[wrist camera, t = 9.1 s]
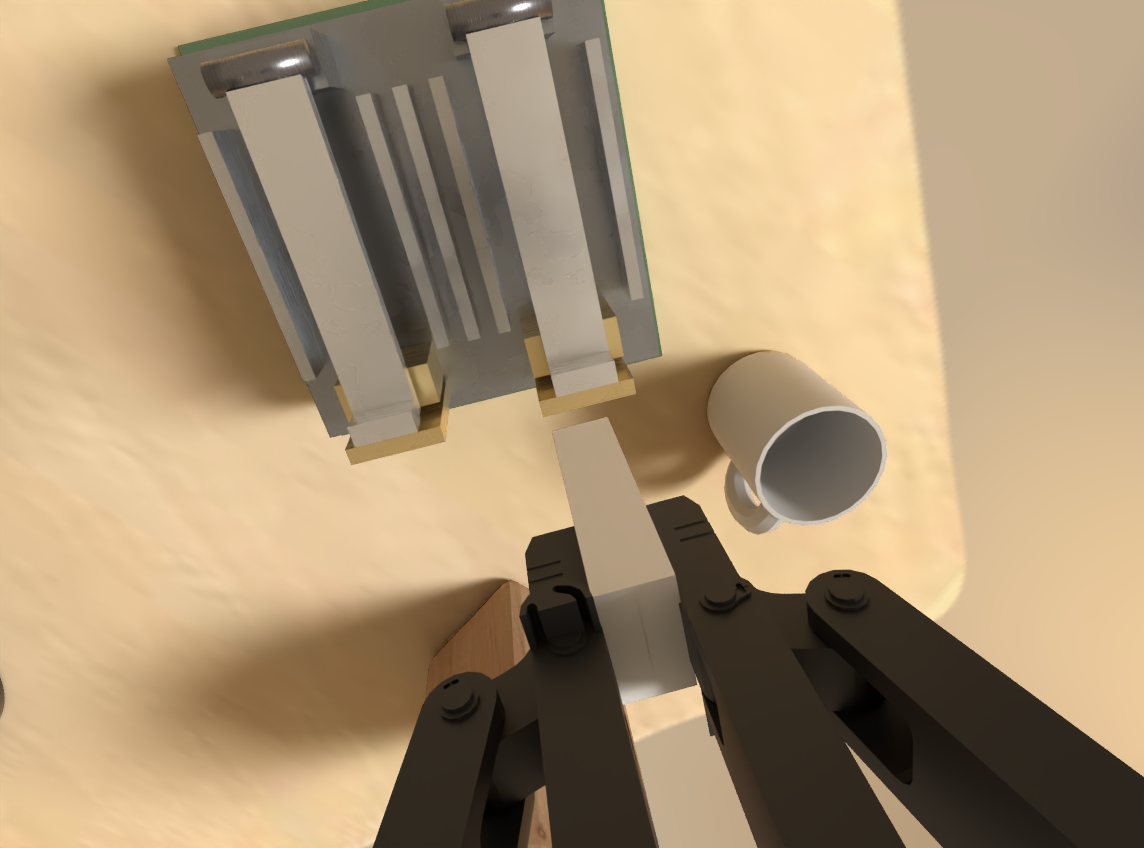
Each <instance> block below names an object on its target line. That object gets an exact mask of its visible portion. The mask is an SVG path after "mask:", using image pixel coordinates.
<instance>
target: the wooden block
mask: <svg viewBox="0 0 1144 848" xmlns="http://www.w3.org/2000/svg"><path fill="white" fill-rule="evenodd" d="M529 594H530V593H529V589H528V588H526V587H524V586H523V585H521V584H519V583H518V582H513V581H508V582H506V583H504V584H503V585H502V586H501V587H500V588H499V589H498V590H497V591H496V592H495V593H494V594H493V595H492V596H491V597H490V598H489V600H488V601H487V602H486V603H485V604H484V605H483V606H482V607H481V608H480V609H479V610H478V611H477V612H476V613H475V614H474V615H473V616H472V618H471V619H470V620H469V621H468V622H467V623H466V624H465V625H464V626H463V627H462V628H461V629H460V630H459V631H458V632H457V633H456V634H455V636H454V637H453V638H452V639H451V640H450V641H449V642H448V643H447V644H446V645H445V646H444V647H443V648H442V649H441V650H440V651H439V652H438V654H437V655H436V656H435V657H434V658H433V660H432V661H431V663H430V666H429V669H428V679H427V690H426V699H427V697H428V695H429V693H430V692H431V691H432V690H433V689H434V688H435V687H436V686H437V685H438V684H439V683H441V682H442V681H444V680H446V679H448V678H449V677H451V676H453V675H456V674H460V673H464V672H479V673H483V674H484V675H486V676H488V677H490V678H491V679H494V678H496V677H497V676H499V675H501V674H503V673H504V672H506V671H508V670H509V669H511V668H512V667H514V666H515V665H517V664H518V663H519V662H520V661H521V660H522V659H523V658H524V657H525V655H526V654H527V652H528V651H529V649H530V647H529V644H528V641H527V638H526V635H525V632H524V629H523V626H522V624H521V621H520V618H519V614H520V608H521V605H522V604H523V602H524V601H525V599H526V598H527V596H528V595H529ZM623 707H624V711H625V715H626V719H627V722H628V726H629V730H630V734H631V738H632V742H633V746H634V750H635V745H634V741H633V737H632V733H631V729H630V724H629V720H628V716H627V712H626V708H625V705H623ZM635 753H636V750H635ZM636 757H637V754H636ZM637 761H638V758H637ZM638 765H639V763H638ZM639 769H640V767H639ZM640 773H641V771H640ZM641 777H642V775H641ZM642 781H643V779H642ZM643 785H644V783H643ZM644 789H645V788H644ZM645 793H646V791H645ZM646 797H647V796H646ZM647 801H648V800H647ZM648 805H649V804H648ZM649 809H650V808H649ZM650 813H651V812H650ZM528 848H552V842H551V833H550V823H549V814H548V805H547V796H546V786H543V787H542V788H540V789H538V790H537V791H535V803H534V809H533V816H532V822H531V829H530V835H529V842H528Z"/></svg>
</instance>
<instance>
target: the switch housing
mask: <svg viewBox="0 0 1144 848" xmlns="http://www.w3.org/2000/svg"><path fill="white" fill-rule="evenodd" d="M458 1H463V0H368V1H364V2H360V3H356V4H352V5H348V6H343V7H339V8H335V9H331V10H327V11H323V12H318V13H314V14H310V15H306V16H302V17H297V18H293V19H289V20H285V21H281V22H277V23H272V24H268V25H264V26H260V27H256V28H251V29H247V30H243V31H239V32H235V33H231V34H226V35H222V36H218V37H214V38H210V39H206V40H201V41H197V42H193V43H189V44H185V45H180V46H178V47H179V50H180V52H181V54H182V55H181V56H177V57H173V58H168V59H167V60H168V63H169V65H170V67H171V70H172V72H173V74H174V77H175V79H176V81H177V84H178V86H179V88H180V91H181V93H182V95H183V97H184V100H185V102H186V104H187V107H188V109H189V111H190V114H191V116H192V118H193V121H194V123H195V125H196V128H197V130H198V132H199V135H197V136H198V139H199V141H200V143H201V146H202V148H203V150H204V153H205V155H206V157H207V160H208V162H209V164H210V166H211V169H212V171H213V173H214V176H215V178H216V180H217V183H218V185H219V187H220V190H221V192H222V194H223V197H224V199H225V201H226V203H227V206H228V208H229V210H230V213H231V215H232V217H233V220H234V222H235V224H236V227H237V229H238V231H239V233H240V236H241V238H242V240H243V243H244V245H245V247H246V250H247V252H248V254H249V257H250V259H251V261H252V264H253V266H254V268H255V270H256V273H257V275H258V277H259V280H260V282H261V284H262V287H263V289H264V291H265V294H266V296H267V298H268V300H269V303H270V305H271V307H272V310H273V312H274V314H275V317H276V319H277V321H278V324H279V326H280V328H281V331H282V333H283V335H284V337H285V340H286V342H287V344H288V347H289V349H290V351H291V354H292V356H293V358H294V361H295V363H296V365H297V368H298V370H299V372H300V374H301V377H302V379H303V381H304V382H306V383H307V385H308V387H309V390H310V392H311V394H312V397H313V399H314V401H315V404H316V406H317V408H318V411H319V413H320V415H321V418H322V420H323V422H324V425H325V427H326V429H327V432H328V434H329V436H330V438H331V437H335V436H339V435H342V436H343V435H347V434H349V431H348V429H347V426H348V424H349V421H350V419H351V417H352V415H353V414H352V411H351V409H350V406H349V404H348V401H347V399H346V396H345V393H344V391H343V388H342V386H341V383H340V381H339V378H338V376H337V373H336V371H335V368H334V366H333V363H332V361H331V358H330V356H329V353H328V350H327V348H326V345H325V343H324V340H323V338H322V335H321V333H320V330H319V328H318V325H317V323H316V320H315V318H314V315H313V313H312V310H311V307H310V305H309V302H308V300H307V297H306V295H305V292H304V290H303V287H302V285H301V282H300V280H299V277H298V275H297V272H296V270H295V267H294V264H293V262H292V259H291V257H290V254H289V252H288V249H287V247H286V244H285V242H284V239H283V237H282V234H281V232H280V229H279V227H278V224H277V221H276V219H275V216H274V214H273V211H272V209H271V206H270V204H269V201H268V199H267V196H266V194H265V191H264V189H263V186H262V184H261V181H260V178H259V176H258V173H257V171H256V168H255V166H254V163H253V161H252V158H251V156H250V153H249V151H248V148H247V146H246V143H245V141H244V138H243V135H242V133H241V130H240V128H239V125H238V123H237V120H236V118H235V115H234V113H233V110H232V108H231V105H230V103H229V100H228V98H227V97H224V98H220V99H216V98H215V97H214V96H213V95H212V94H211V93H210V91H209V90H208V88H207V86H206V84H205V82H204V79H203V77H202V73H201V68H200V65H201V63H204V62H208V61H212V60H217V59H221V58H225V57H229V56H233V55H237V54H242V53H246V52H250V51H254V50H258V49H262V48H267V47H271V46H275V45H279V44H283V43H287V42H292V41H296V40H300V39H304V38H305V39H306V40H307V41H308V43H309V45H310V47H311V49H312V51H313V54H314V57H315V60H316V63H317V67H318V75H315V76H311V77H307V80H308V83H309V86H310V89H311V92H312V95H313V98H314V101H315V104H316V106H317V109H318V112H319V115H320V118H321V121H322V124H323V127H324V130H325V132H326V135H327V138H328V141H329V144H330V147H331V150H332V153H333V156H334V158H335V161H336V164H337V167H338V170H339V173H340V176H341V179H342V182H343V185H344V187H345V190H346V193H347V196H348V199H349V202H350V205H351V208H352V211H353V213H354V216H355V219H356V222H357V225H358V228H359V231H360V234H361V237H362V239H363V242H364V245H365V248H366V251H367V254H368V257H369V260H370V263H371V265H372V268H373V271H374V274H375V277H376V280H377V283H378V286H379V289H380V291H381V294H382V297H383V300H384V303H385V306H386V309H387V312H388V315H389V317H390V320H391V323H392V326H393V329H394V332H395V335H396V338H397V341H398V343H399V346H400V349H401V352H402V355H403V358H404V361H405V364H406V367H407V369H408V372H409V375H410V378H411V381H412V384H413V387H414V390H415V393H416V396H417V398H418V401H419V404H420V407H421V410H420V418H421V420H420V425H419V429H418V432H415V433H411V434H407V435H403V436H399V437H395V438H391V439H387V440H383V441H379V442H375V443H371V444H367V445H363V446H359V447H355V446H354V444H353V441H352V439H351V436H350V439H349V442H348V444H347V447H346V449H345V451H346V453H347V456H348V458H349V460H350V463H351V465H354V464H358V463H362V462H366V461H370V460H374V459H378V458H382V457H386V456H390V455H394V454H398V453H402V452H406V451H410V450H414V449H418V448H422V447H426V446H430V445H434V444H438V443H442V442H445V441H446V432H447V422H448V413H449V409H451V408H455V407H459V406H463V405H467V404H471V403H475V402H479V401H483V400H487V399H491V398H495V397H499V396H503V395H507V394H511V393H515V392H519V391H523V390H527V389H531V388H535V387H536V388H537V393H538V398H539V403H540V407H541V411H542V414H543V417H546V416H550V415H554V414H558V413H562V412H566V411H570V410H574V409H578V408H582V407H586V406H590V405H594V404H598V403H602V402H606V401H610V400H614V399H618V398H622V397H626V396H630V395H634V394H636V390H635V384H634V379H633V377H632V375H631V373H630V371H629V369H628V368H627V366H626V365H627V364H631V363H635V362H639V361H643V360H647V359H651V358H655V357H660V356H662V351H661V345H660V339H659V333H658V327H657V321H656V315H655V308H654V302H653V296H652V290H651V284H650V278H649V272H648V266H647V260H646V254H645V248H644V242H643V236H642V230H641V224H640V218H639V212H638V205H637V199H636V193H635V187H634V181H633V175H632V169H631V163H630V157H629V151H628V145H627V139H626V133H625V127H624V121H623V115H622V109H621V102H620V96H619V90H618V84H617V78H616V72H615V66H614V60H613V54H612V48H611V42H610V36H609V30H608V24H607V18H606V12H605V5H604V0H551V2H552V8H553V18H552V19H548V20H544V21H541V24H542V29H543V34H544V38H545V43H546V48H547V53H548V58H549V63H550V67H551V72H552V77H553V82H554V87H555V92H556V97H557V101H558V106H559V111H560V116H561V121H562V126H563V130H564V135H565V140H566V145H567V150H568V155H569V160H570V164H571V169H572V174H573V179H574V184H575V189H576V194H577V198H578V203H579V208H580V213H581V218H582V223H583V227H584V232H585V237H586V242H587V247H588V252H589V257H590V261H591V266H592V271H593V276H594V281H595V286H596V290H597V295H598V300H599V305H600V310H601V315H602V320H603V324H604V329H605V334H606V339H607V344H608V349H609V352H610V354H611V355H612V357H613V359H614V362H615V366H616V371H617V376H618V381H619V382H616V383H612V384H608V385H604V386H600V387H596V388H592V389H588V390H584V391H580V392H576V393H572V394H568V395H564V396H560V397H556V394H555V390H554V386H553V382H552V378H551V374H550V370H549V366H548V362H547V358H546V354H545V350H544V346H543V342H542V338H541V334H540V330H539V326H538V322H537V318H536V314H535V310H534V306H533V302H532V298H531V294H530V290H529V286H528V282H527V278H526V274H525V270H524V266H523V262H522V258H521V254H520V250H519V246H518V242H517V238H516V234H515V230H514V226H513V222H512V218H511V214H510V210H509V206H508V202H507V198H506V194H505V190H504V186H503V182H502V178H501V174H500V170H499V166H498V162H497V158H496V154H495V150H494V146H493V142H492V138H491V134H490V130H489V126H488V122H487V118H486V114H485V110H484V106H483V102H482V98H481V94H480V90H479V86H478V82H477V78H476V74H475V70H474V66H473V62H472V58H471V54H470V50H469V46H468V42H467V39H465V40H460V41H456V42H454V41H453V38H452V34H451V30H450V26H449V22H448V19H447V15H446V11H445V6H444V5H446V4H450V3H454V2H458Z"/></svg>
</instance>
